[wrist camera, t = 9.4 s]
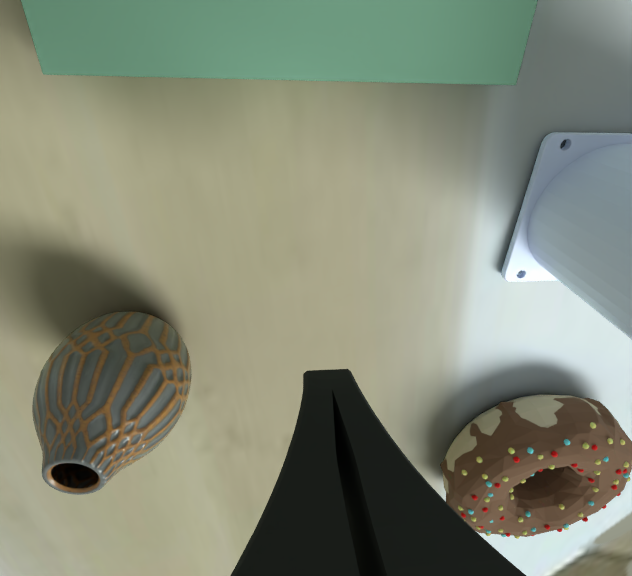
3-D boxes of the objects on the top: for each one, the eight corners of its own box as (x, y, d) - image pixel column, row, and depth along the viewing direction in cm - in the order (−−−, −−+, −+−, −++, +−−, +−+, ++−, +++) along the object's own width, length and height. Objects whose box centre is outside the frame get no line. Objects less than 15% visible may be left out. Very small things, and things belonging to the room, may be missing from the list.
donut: (427, 400, 28) (454, 462, 24) (617, 363, 27) (680, 420, 23) (434, 505, 35) (455, 568, 31) (583, 478, 35) (625, 537, 30)
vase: (56, 302, 21) (-68, 437, 14) (179, 282, 21) (122, 406, 14) (109, 390, 25) (34, 535, 17) (214, 373, 25) (185, 511, 17)
